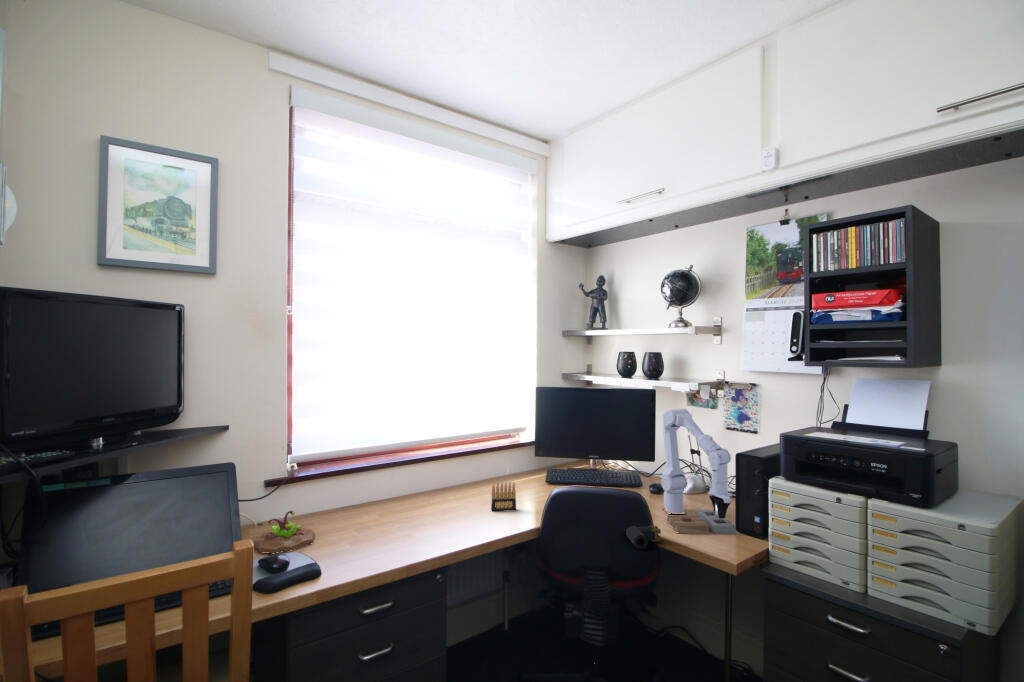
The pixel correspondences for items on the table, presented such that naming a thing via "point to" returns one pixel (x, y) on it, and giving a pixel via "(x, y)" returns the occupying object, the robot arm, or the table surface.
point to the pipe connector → (643, 535)
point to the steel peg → (717, 519)
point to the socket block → (688, 524)
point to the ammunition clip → (503, 498)
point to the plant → (284, 537)
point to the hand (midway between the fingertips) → (719, 516)
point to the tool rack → (715, 527)
